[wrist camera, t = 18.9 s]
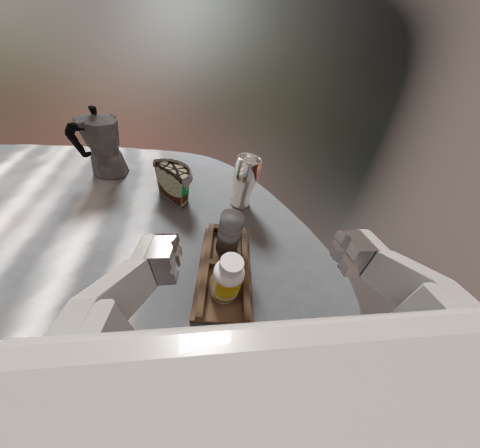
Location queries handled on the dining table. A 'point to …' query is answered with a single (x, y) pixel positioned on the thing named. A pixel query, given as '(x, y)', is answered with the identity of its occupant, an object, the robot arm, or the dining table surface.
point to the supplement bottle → (227, 278)
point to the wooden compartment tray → (214, 246)
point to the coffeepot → (99, 143)
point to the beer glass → (245, 179)
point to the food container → (173, 180)
